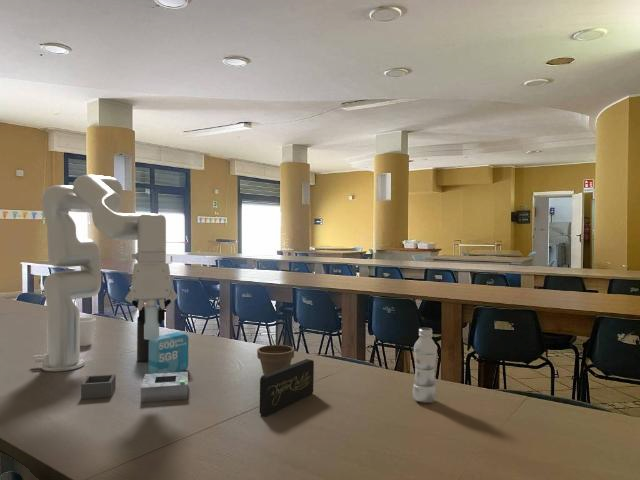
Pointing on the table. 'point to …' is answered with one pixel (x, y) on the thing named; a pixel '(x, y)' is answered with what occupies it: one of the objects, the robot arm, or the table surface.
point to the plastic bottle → (424, 367)
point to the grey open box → (98, 386)
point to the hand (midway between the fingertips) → (151, 322)
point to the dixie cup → (86, 330)
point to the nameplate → (286, 386)
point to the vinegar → (142, 343)
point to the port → (164, 387)
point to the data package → (168, 353)
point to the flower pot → (275, 357)
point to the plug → (151, 319)
